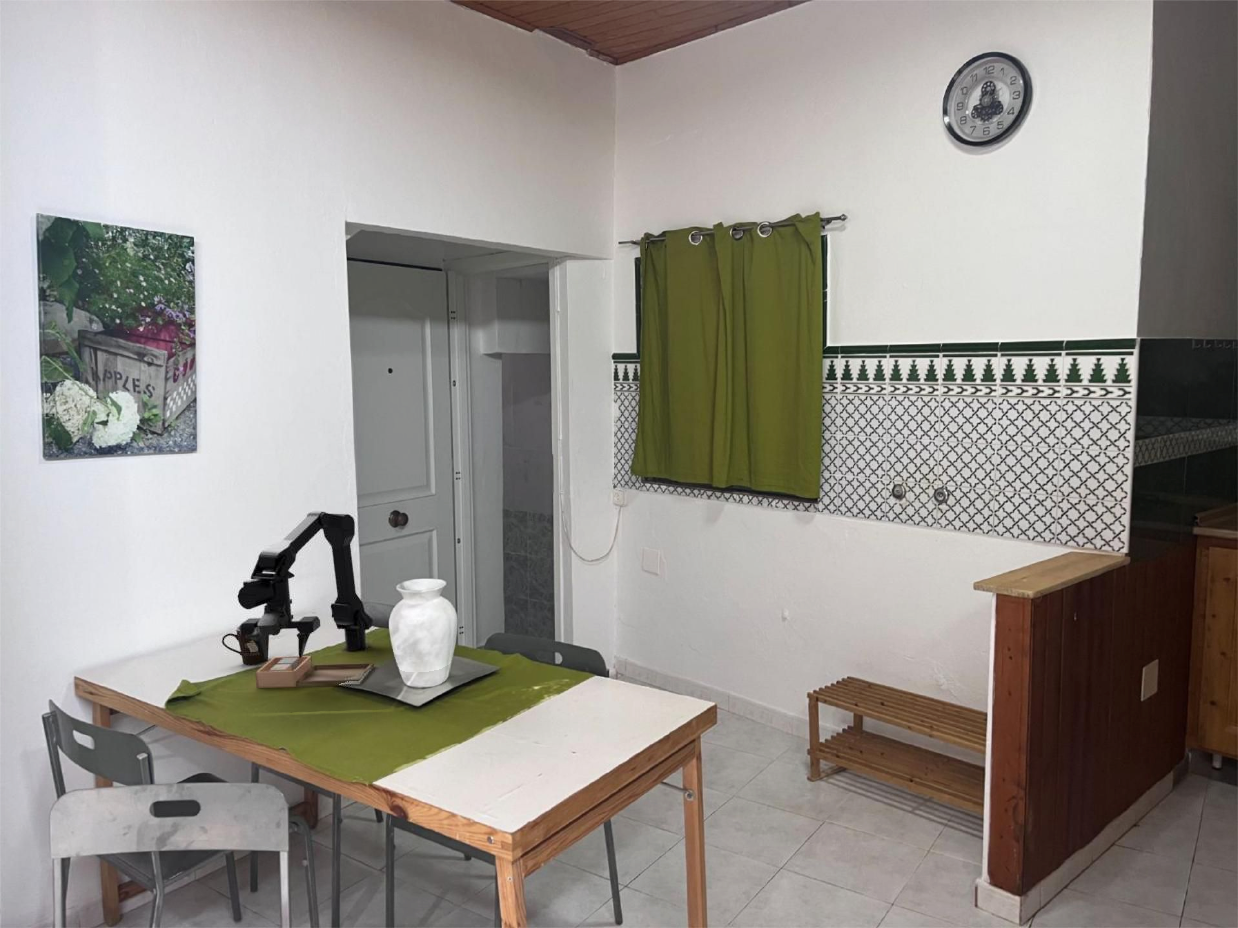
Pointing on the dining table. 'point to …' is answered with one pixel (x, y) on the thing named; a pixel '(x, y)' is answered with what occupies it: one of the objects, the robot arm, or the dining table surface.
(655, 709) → the dining table surface
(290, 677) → the pink storage bin
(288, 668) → the beige cube
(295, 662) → the pale grey matte cube
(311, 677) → the parts tray
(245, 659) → the coffee mug
